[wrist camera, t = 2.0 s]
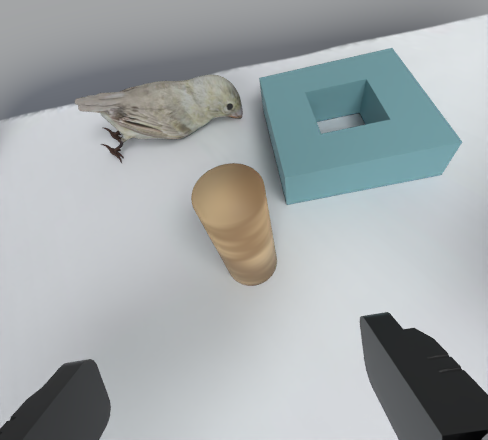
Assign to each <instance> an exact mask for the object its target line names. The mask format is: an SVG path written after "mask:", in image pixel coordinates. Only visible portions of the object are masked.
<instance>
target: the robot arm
mask: <svg viewBox="0 0 488 440" xmlns="http://www.w3.org/2000/svg"><path fill="white" fill-rule="evenodd" d="M360 329H361V337H362V345H363V353H364V361H365V366H366V371H367V374H368V377H369V380H370V383H371V385H372V388H373V390H374V392H375V394H376V396H377V398H378V400H379V402H380V403H381V405H382V407H383V409H384V411H385V413H386V415H387V417H388V419H389V421H390V423H391V425H392V427H393V429H394V431H395V433H396V435H397V437H398V439H399V440H488V395H487V394H486V392H485V391H484V390H483V389H482V388H481V387H480V386H479V385H478V384H477V383H476V382H475V381H474V380H473V379H472V378H471V377H470V376H469V375H468V374H467V373H466V372H465V371H464V370H462V369H461V366H460V365H459V364H458V363H457V362H456V361H455V360H454V359H453V358H452V357H449V355H448V353H447V352H446V351H445V350H444V349H443V348H442V347H441V346H440V345H439V344H438V343H437V342H436V341H435V339H433V338H432V337H430V336H428V335H426V334H424V333H423V332H421V331H419V330H417V329H415V328H410V329H403V328H402V327H401V326H400V325H399V324H398V322H397V321H396V320H395V319H394V318H393V317H392V315H391V314H390V313H388V312H385V313H379V314H373V315H367V316H361V317H360ZM110 410H111V406H110V400H109V397H108V394H107V391H106V389H105V386H104V383H103V380H102V378H101V375H100V372H99V369H98V367H97V364H96V363H95V361H94V360H91V359H89V360H82V361H76V362H70V363H65V364H63V365H62V366H61V367H60V368H59V369H58V370H57V371H56V372H55V374H54V375H53V376H52V377H51V378H50V379H49V380H48V382H47V383H46V384H45V385H44V386H43V387H42V388H41V389H40V390H38V391H37V392H36V393H35V394H33V395H32V396H31V397H30V398H28V399H27V400H26V401H25V402H24V403H23V404H22V405H21V406H20V408H19V409H18V410H17V411H16V412H15V413H14V414H13V415H12V416H11V419H10V421H7V422H6V423H5V424H4V425H3V426H2V428H1V429H0V440H99V439H100V437H101V435H102V433H103V431H104V429H105V428H106V426H107V423H108V421H109V417H110Z"/></svg>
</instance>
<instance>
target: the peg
mask: <svg viewBox="0 0 488 440" xmlns="http://www.w3.org/2000/svg"><path fill="white" fill-rule="evenodd" d="M191 200H192V205H193V208H194V210H195V212H196V214H197V215H198V217H199V219H200V221H201V222H202V224H203V226H204V228H205V230H206V231H207V233H208V235H209V237H210V239H211V240H212V242H213V244H214V246H215V247H216V249H217V251H218V253H219V255H220V256H221V258H222V260H223V262H224V264H225V265H226V267H227V269H228V271H229V272H230V274H231V276H232V277H233V278H234V279H235V280H236V281H237V282H239V283H241V284H244V285H248V286H253V285H259V284H261V283H263V282H265V281H267V280H268V279H269V278H270V277H271V276H272V274H273V273H274V271H275V269H276V264H277V259H276V252H275V246H274V240H273V234H272V228H271V222H270V216H269V210H268V204H267V198H266V192H265V186H264V182H263V180H262V178H261V176H260V175H259V173H258V172H257V171H255V170H254V169H252V168H251V167H249V166H246V165H243V164H234V163H232V164H224V165H220V166H217V167H215V168H213V169H211V170H209V171H207V172H206V173H205V174H204V175H202V176H201V177H200V179H199V180H198V181H197V183H196V184H195V186H194V188H193V191H192V197H191Z"/></svg>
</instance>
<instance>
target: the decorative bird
mask: <svg viewBox="0 0 488 440" xmlns="http://www.w3.org/2000/svg"><path fill="white" fill-rule="evenodd" d="M75 104H77V105H78V109H79V110H80V111H87V112H99V113H101V115H102V116H103V117H104V118H105V119H106V120H107V121H108V122H110V123H111V124H112V125H113V126H114V127H115V128H116V129H117V130H118V131H117V132H112V131H111V130H109V129H107V128H104V129H106V130H107V131H108V132H110V134H111V136H112V137H113V138H114V139H116V140H118V141H119V142H120V145H119V146H118V147H117V148H115V149H114V148H111V147H109V146H108V145H105V144H101V145H104V146H106V147H107V148H108V149H109V151H110V153H111V154H113V155H115V156H116V157H117V158H119V159H120V161H121V158H120V156H121V157H122V158H124V157H123V156H122V155H121V154H120V153H119V152H118V151H121V150H120V148H121V147H122V145H123V142H125V141H127V140H128V139H131V138H137V139H159V138H160V139H181V138H184V137H186V136H188V135H190V134H191V133H193V132H194V131H196V130H197V129H199V128H200V127H202V126H204V125H205V124H207V123H208V122H210V120H211V119H212V118H217V117H224V116H229V117H233V118H242V112H243V111H242V105H241V100H240V96H239V94H238V92H237V90H236V89H235V87H234V86H233V84H232V83H231V82H230V81H228V80H227V79H225V78H224V77H221V76H218V75H204V76H199V77H196V78H193V79H190V80H184V81H159V82H153V83H148V84H144V85H141V86H136V87H131V88H128V89H125V90H122V91H120V92H114V93H99V94H97V95H91V96H87V97H81V98H79V99H76V100H75ZM120 132H121V133H122V134H123V136H122V138H121V137H120V136H118V135H121V134H120ZM120 140H121V141H120ZM121 163H122V161H121Z"/></svg>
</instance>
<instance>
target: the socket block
mask: <svg viewBox="0 0 488 440" xmlns="http://www.w3.org/2000/svg"><path fill="white" fill-rule="evenodd" d="M259 80H260V87H261V95H262V103H263V110H264V114H265V118H266V122H267V126H268V131H269V135H270V139H271V143H272V147H273V151H274V155H275V159H276V163H277V167H278V171H279V175H280V179H281V183H282V187H283V191H284V196H285V200H286V204H287V205H289V204H294V203H299V202H304V201H309V200H314V199H320V198H325V197H330V196H335V195H340V194H345V193H351V192H356V191H361V190H366V189H371V188H376V187H381V186H387V185H392V184H397V183H402V182H407V181H412V180H418V179H423V178H428V177H433V176H438V175H442V173H443V172H444V170H445V168H446V167H447V165H448V164H449V162H450V161H451V159H452V157H453V156H454V154H455V153H456V151H457V149H458V148H459V146H460V145H461V143H462V141H461V140H460V138H459V137H458V136H457V134H456V133H455V132H454V130H453V129H452V128H451V126H450V125H449V124H448V122H447V121H446V119H445V118H444V117H443V115H442V114H441V113H440V111H439V110H438V109H437V107H436V106H435V105H434V103H433V102H432V101H431V99H430V98H429V97H428V95H427V94H426V93H425V91H424V90H423V89H422V87H421V86H420V85H419V83H418V82H417V81H416V79H415V78H414V77H413V75H412V74H411V72H410V71H409V70H408V68H407V67H406V66H405V64H404V63H403V62H402V60H401V59H400V58H399V56H398V55H397V54H396V52H395V51H394V50H393V48H390V49H385V50H381V51H376V52H372V53H368V54H363V55H359V56H354V57H350V58H346V59H341V60H337V61H332V62H328V63H324V64H319V65H315V66H310V67H306V68H302V69H297V70H293V71H288V72H284V73H280V74H275V75H271V76H266V77H262V78H259ZM356 113H360V115H361V117H362V119H363V121H364V123H365V124H366V125H361V126H356V127H352V128H347V129H342V130H337V131H333V132H328V133H323V134H321V132H320V130H319V127H318V125H317V122H318V121H323V120H328V119H332V118H337V117H342V116H347V115H351V114H356Z"/></svg>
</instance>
